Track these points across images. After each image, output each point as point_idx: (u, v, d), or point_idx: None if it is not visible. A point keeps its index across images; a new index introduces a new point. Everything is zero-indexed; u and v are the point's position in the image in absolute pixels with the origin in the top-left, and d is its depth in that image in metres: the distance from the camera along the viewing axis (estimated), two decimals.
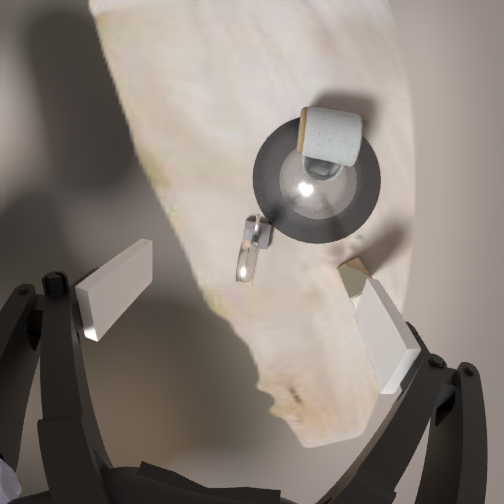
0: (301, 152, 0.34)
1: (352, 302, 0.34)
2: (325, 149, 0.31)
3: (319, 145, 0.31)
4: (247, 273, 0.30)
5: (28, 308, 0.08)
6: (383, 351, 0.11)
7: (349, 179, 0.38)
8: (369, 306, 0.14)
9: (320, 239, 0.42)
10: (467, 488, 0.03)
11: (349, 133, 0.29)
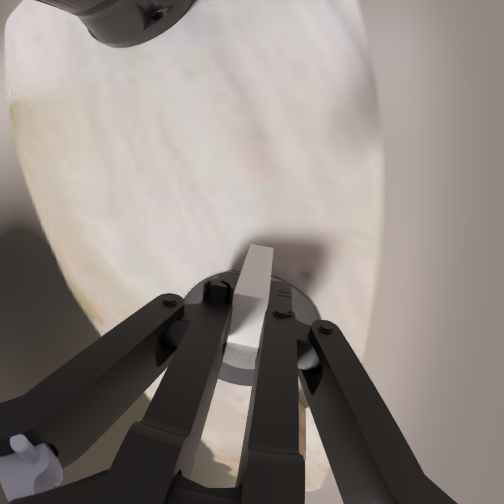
0: None
1: None
2: None
3: None
4: None
5: (167, 323, 0.09)
6: None
7: None
8: None
9: (252, 383, 0.39)
10: (387, 458, 0.04)
11: None
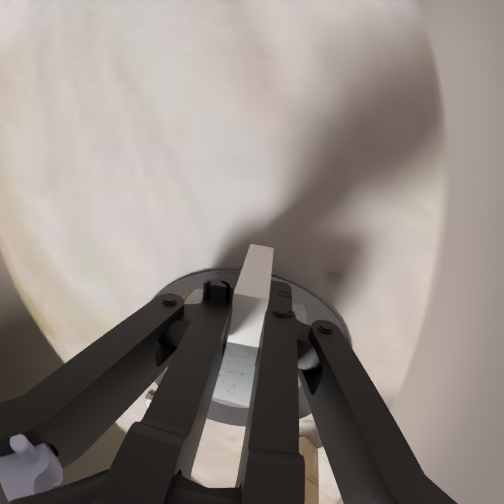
0: None
1: None
2: None
3: None
4: None
5: (167, 323, 0.09)
6: None
7: None
8: None
9: None
10: (387, 458, 0.04)
11: None
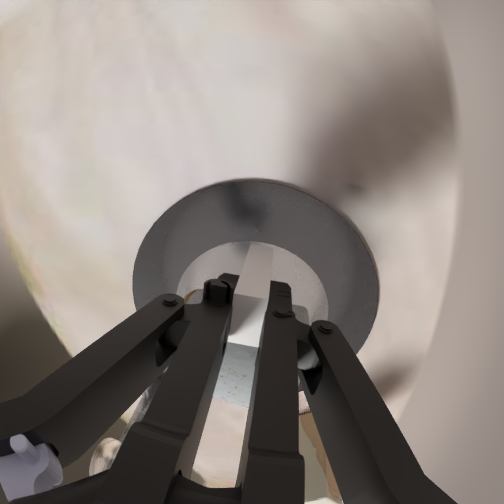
0: None
1: None
2: (218, 399, 0.15)
3: None
4: None
5: (167, 324, 0.09)
6: None
7: (312, 313, 0.20)
8: None
9: None
10: (387, 458, 0.04)
11: None
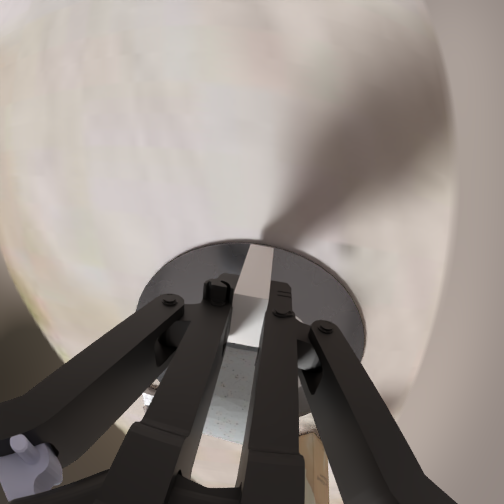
0: None
1: None
2: None
3: (204, 433, 0.16)
4: None
5: (167, 324, 0.09)
6: None
7: None
8: None
9: None
10: (387, 458, 0.04)
11: None
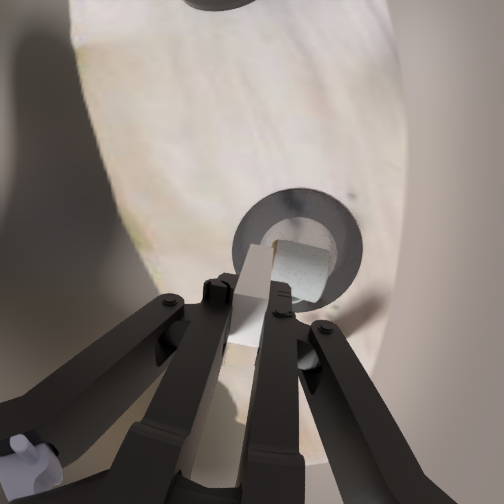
0: None
1: None
2: None
3: None
4: None
5: (167, 324, 0.09)
6: None
7: None
8: None
9: (296, 309, 0.44)
10: (387, 458, 0.04)
11: (312, 283, 0.34)
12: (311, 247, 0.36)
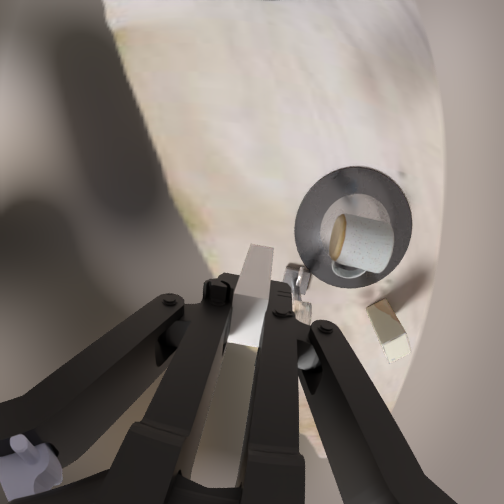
0: (334, 260, 0.37)
1: (384, 347, 0.35)
2: (357, 263, 0.35)
3: (352, 260, 0.35)
4: None
5: (167, 324, 0.09)
6: None
7: None
8: None
9: (354, 284, 0.43)
10: (387, 458, 0.04)
11: (381, 252, 0.33)
12: (374, 220, 0.36)
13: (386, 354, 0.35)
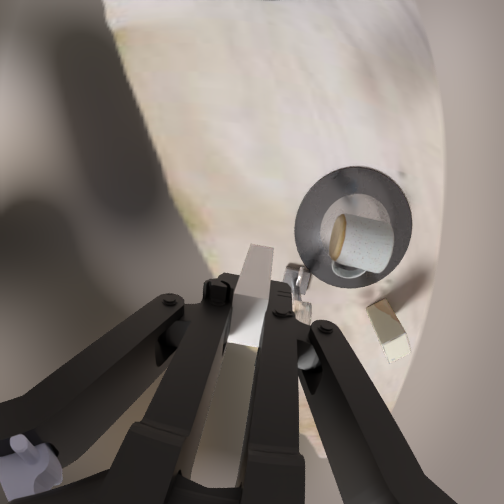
0: (334, 260, 0.37)
1: (383, 347, 0.35)
2: (357, 263, 0.35)
3: (352, 260, 0.35)
4: None
5: (167, 324, 0.09)
6: None
7: None
8: None
9: (354, 284, 0.43)
10: (387, 458, 0.04)
11: (381, 252, 0.33)
12: (374, 220, 0.36)
13: (386, 354, 0.35)
